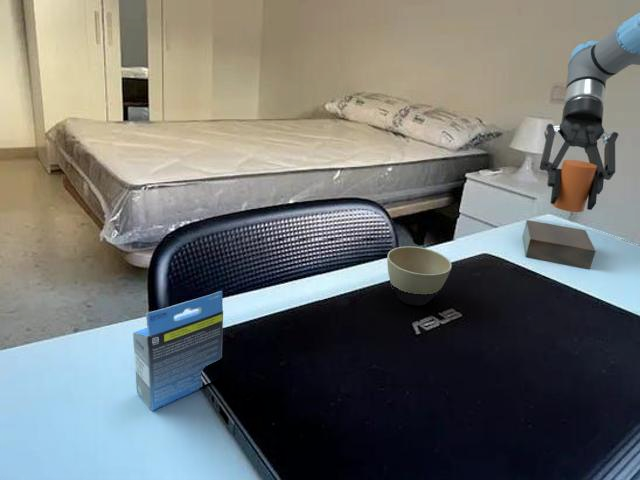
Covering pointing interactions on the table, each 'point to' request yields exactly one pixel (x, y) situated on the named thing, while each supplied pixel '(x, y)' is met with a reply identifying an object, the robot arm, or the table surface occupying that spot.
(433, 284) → the beige bowl
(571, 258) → the grey shallow square box
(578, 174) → the orange drum
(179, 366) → the label tape box
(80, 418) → the table surface
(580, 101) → the robot arm
